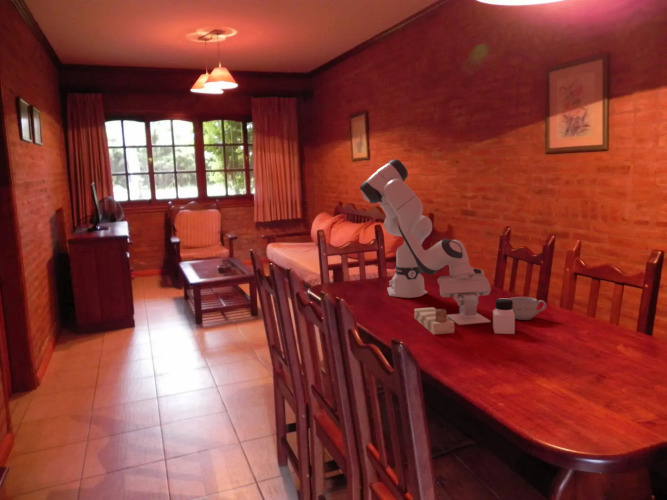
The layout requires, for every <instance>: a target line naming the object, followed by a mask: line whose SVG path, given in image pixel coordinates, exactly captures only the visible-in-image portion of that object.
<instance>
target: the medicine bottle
mask: <svg viewBox="0 0 667 500" xmlns="http://www.w3.org/2000/svg"><path fill="white" fill-rule="evenodd" d="M494 302H495V306H494V307H495V308H494V309H493V310H492V328H493V333H494V334H501V335H502V334H503V335H504V334H505V335H515V333H516V319H515V314H514V312H513V301H512V300H510V299H509V298H504V297H503V298H498V299H495V301H494Z"/></svg>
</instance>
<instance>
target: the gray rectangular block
mask: <svg viewBox="0 0 667 500" xmlns="http://www.w3.org/2000/svg"><path fill="white" fill-rule="evenodd" d="M459 300H462V305H459V309H458V310H459V311H458V312H459V313H458V314H462V315H463V316H474V315H477V313H478V312H477V311H478V309H477V307H478V305H477V295H475V294H473V293H462V294H460V297H459Z"/></svg>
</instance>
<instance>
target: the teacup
mask: <svg viewBox="0 0 667 500" xmlns="http://www.w3.org/2000/svg"><path fill="white" fill-rule="evenodd" d="M508 299H510V300H512V301H513V312H514V314H515V320H518V321H519V320H521V321H529V320H532V319H533V318H534V317H535V316H536V315H539V313H542V312H543V311H544V310H545V309H546V308H547V303H546V301H544V300H541V299H540V300H538V299H537V298H535V297H529V296H515V297H509V298H508ZM539 304H543V306H542V307H541V308H540V309H538V306H539Z"/></svg>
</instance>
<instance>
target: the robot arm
mask: <svg viewBox="0 0 667 500" xmlns="http://www.w3.org/2000/svg"><path fill="white" fill-rule="evenodd" d="M408 176H409V172H408V169H407V167H406V165H405V164H404V163H403V162H402V161H401V160H399V159H396V158H393V159H390V160H389V161H387V163H386V164H384V165H382V166H381V167H380V168H378V169H377V170H376V171H375V172H374V173H372V175H370V176H369V177H368V178H367V179H366V180H364V181H363V182H362V184H360V185H359V190H360V193H361V196H362V198H363V199H364V200H365V201H366V202H368V203H370V204H377V203H378V204H379V206H380V207H381V208H382V211H383V212H384V214H385V218H384V222H383V228H384V230H385V232H386V233H387V234H389V235H391V236H395V237H402V238H403V242H402V244H401V245H399V246H398V247H397V249H396V252H395V253H396V254H395V256H396V258H395V259H396V265H395V268H394V272H395V273H394V275H393V276H392V278H391V280H388V283H389V284H388V285H389V287H387V288H386V289H387V292H388V295H389V297H396V298H397V297H399V298H404V299H405V298H406V299H410V298H411V299H412V298H419V297H422V296H424V295H426V294H428V291H427V290H425V289H426V288H425V280H424V279H425V277H424V275H422V274H421V273H423V274H426V275H429V276H432V275H434V274H436V273H437V272H438V271H439V270H440V269H442V268H444V267H446V266H449V267H448V268H449V270H448V271H449V275H441V276H439V277H438V278H437V284H438V285H439V295H440V296H441V298H453V300H454V301H455V302H456V303H457V306H459V307H460V305H462V300H460V294H462V293H473V294H475V295H477V306H478V305H479V297H480V296H489V294H490V293H491V291H492V288H491V285H490V282H489V279H488V278H487V277H486V276H485V271H484V270H483V269H480V268H475V267H472V266H471V265H470V262H469V256H468V252H467V249H466V247H465V245H464V243H463V242H462V241H461V240H458V239H449V238H443V239H441V240H440V241H437V243H435V244H433V245H432V246H431V247H428V248H427V249H426V250H425V249H424V248H423V246H422V245H423V243H424V241H425V239H426V238H427V237H429V235H431V233H432V231H433V223H432V220H431V219H430V217H428V216H425V215H423V212H424V205H423V203H422V200H420V198H419V197H418V195H417V194H416V193H415V191H413V190H412V188H411V187H410V186H409V185H408V184H406V183H405V180H407V178H408Z"/></svg>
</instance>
